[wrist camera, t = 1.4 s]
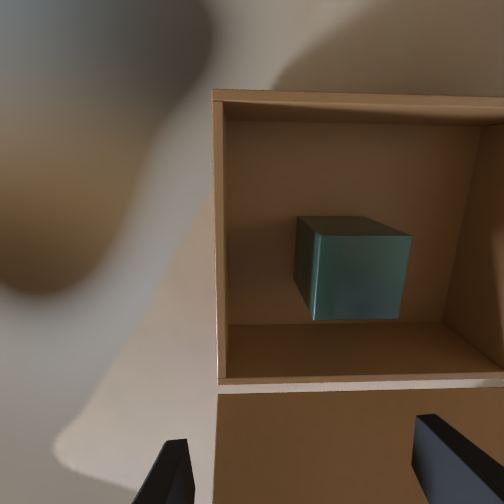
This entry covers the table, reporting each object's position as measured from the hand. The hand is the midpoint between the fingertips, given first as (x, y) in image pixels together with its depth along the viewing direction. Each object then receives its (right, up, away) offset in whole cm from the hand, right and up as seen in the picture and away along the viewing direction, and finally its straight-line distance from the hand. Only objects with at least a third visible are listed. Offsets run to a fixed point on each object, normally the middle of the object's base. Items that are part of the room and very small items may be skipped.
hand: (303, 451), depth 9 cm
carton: (+4, +8, +9) cm, 12 cm away
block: (+3, +6, +9) cm, 11 cm away
